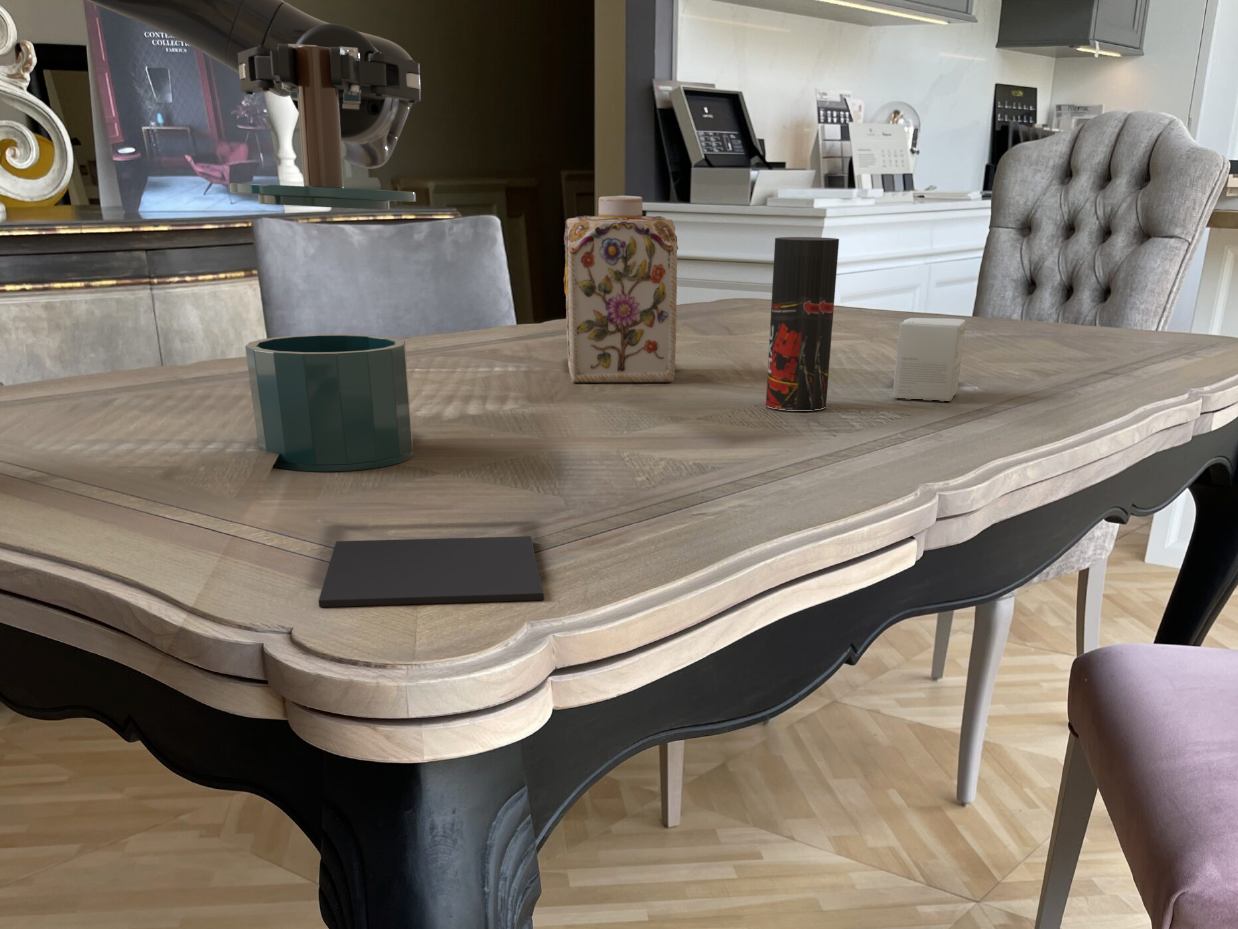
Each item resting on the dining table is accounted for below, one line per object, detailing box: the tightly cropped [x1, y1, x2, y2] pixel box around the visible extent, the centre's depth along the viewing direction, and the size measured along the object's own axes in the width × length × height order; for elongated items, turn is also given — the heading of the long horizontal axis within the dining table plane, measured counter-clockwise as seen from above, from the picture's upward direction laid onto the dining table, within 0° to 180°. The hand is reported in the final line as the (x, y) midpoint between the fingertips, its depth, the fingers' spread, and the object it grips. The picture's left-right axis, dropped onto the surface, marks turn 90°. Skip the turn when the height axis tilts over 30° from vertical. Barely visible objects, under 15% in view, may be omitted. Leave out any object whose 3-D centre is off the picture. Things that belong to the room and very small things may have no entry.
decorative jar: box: [563, 195, 679, 384], centre depth 136 cm, size 12×12×18 cm
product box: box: [892, 317, 967, 402], centre depth 128 cm, size 6×6×7 cm
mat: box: [318, 535, 545, 608], centre depth 72 cm, size 12×12×1 cm
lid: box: [229, 46, 417, 211], centre depth 88 cm, size 13×13×10 cm
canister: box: [244, 333, 414, 473], centre depth 99 cm, size 12×12×8 cm
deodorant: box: [765, 236, 840, 410], centre depth 120 cm, size 6×6×15 cm
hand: (310, 64), depth 84 cm, fingers closed on lid, 3 cm apart
